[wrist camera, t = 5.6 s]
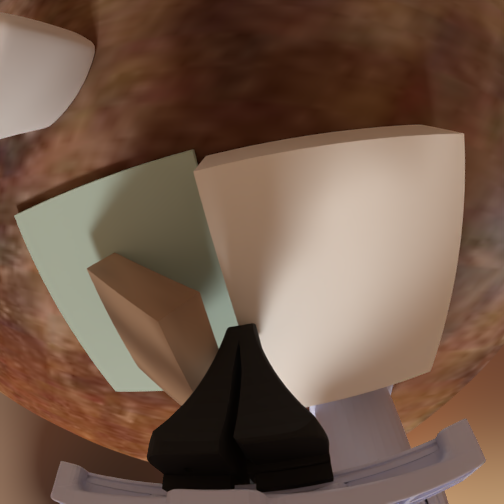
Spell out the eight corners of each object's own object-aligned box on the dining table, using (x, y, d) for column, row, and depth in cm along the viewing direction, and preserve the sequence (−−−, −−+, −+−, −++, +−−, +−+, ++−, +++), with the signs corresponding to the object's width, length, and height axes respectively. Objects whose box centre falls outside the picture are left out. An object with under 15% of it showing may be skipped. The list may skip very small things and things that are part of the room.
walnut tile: (240, 408, 14) (216, 432, 13) (158, 350, 20) (137, 366, 18) (199, 291, 11) (158, 321, 10) (114, 252, 16) (86, 268, 15)
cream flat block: (410, 336, 21) (430, 371, 17) (264, 371, 21) (268, 413, 18) (420, 124, 13) (464, 133, 10) (205, 156, 14) (193, 171, 11)
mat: (259, 375, 22) (259, 380, 21) (117, 387, 22) (115, 391, 22) (193, 148, 14) (192, 150, 14) (18, 213, 15) (14, 215, 14)
